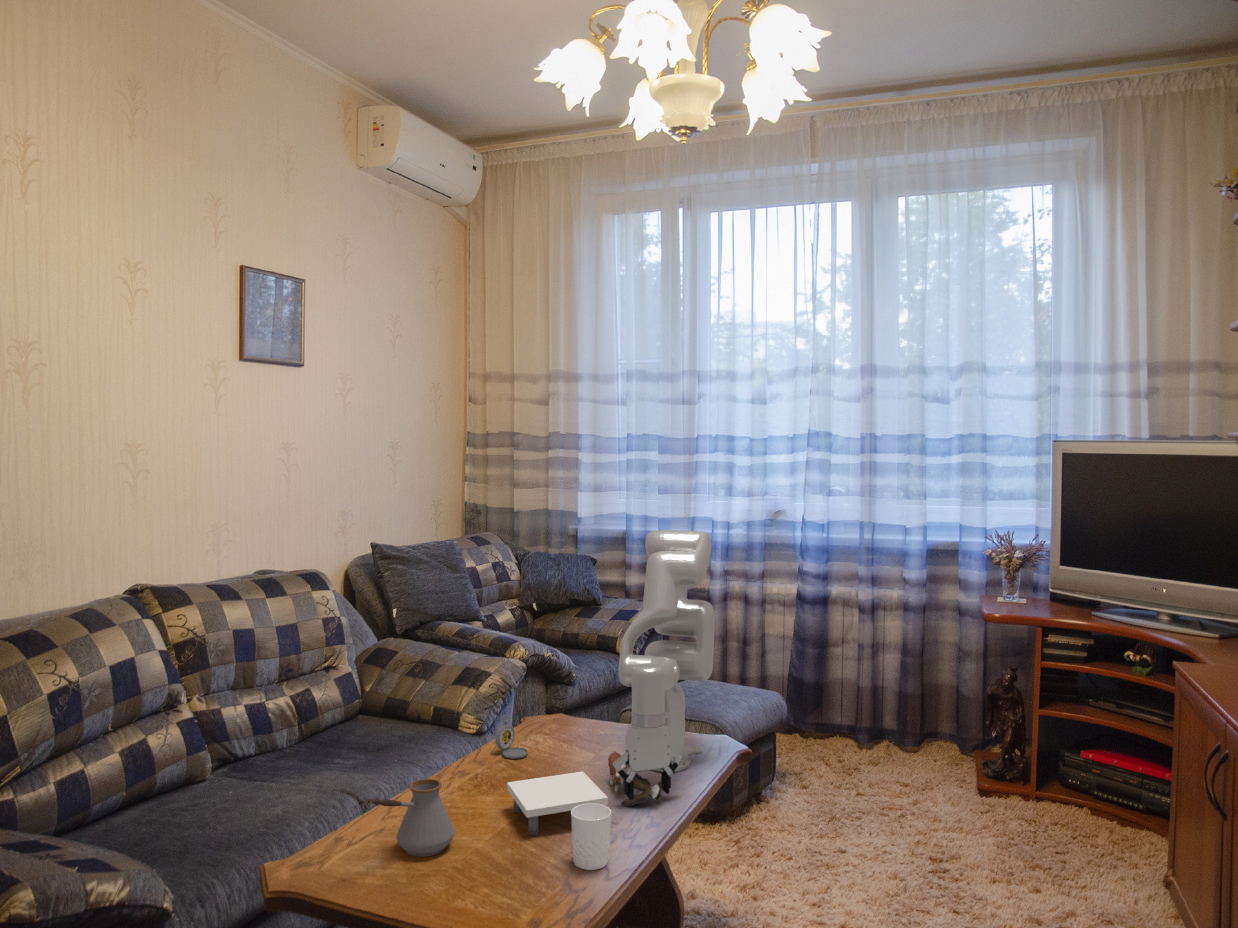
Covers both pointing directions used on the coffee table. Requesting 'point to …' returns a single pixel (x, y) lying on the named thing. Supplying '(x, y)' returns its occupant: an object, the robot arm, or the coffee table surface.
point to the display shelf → (553, 795)
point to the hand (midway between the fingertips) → (647, 794)
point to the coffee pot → (422, 819)
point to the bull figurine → (613, 772)
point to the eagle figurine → (644, 791)
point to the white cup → (591, 835)
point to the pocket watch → (508, 742)
